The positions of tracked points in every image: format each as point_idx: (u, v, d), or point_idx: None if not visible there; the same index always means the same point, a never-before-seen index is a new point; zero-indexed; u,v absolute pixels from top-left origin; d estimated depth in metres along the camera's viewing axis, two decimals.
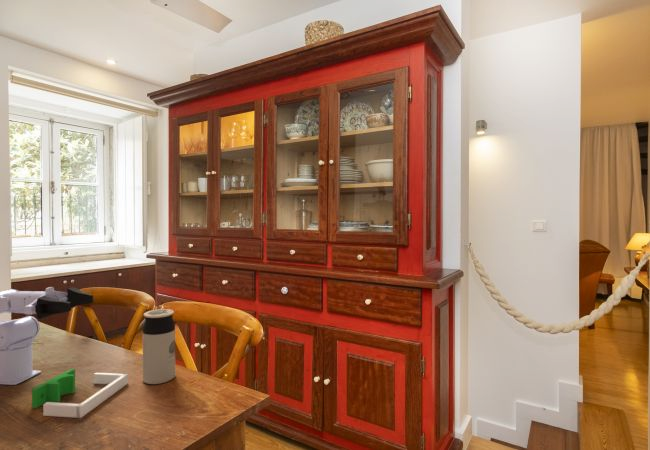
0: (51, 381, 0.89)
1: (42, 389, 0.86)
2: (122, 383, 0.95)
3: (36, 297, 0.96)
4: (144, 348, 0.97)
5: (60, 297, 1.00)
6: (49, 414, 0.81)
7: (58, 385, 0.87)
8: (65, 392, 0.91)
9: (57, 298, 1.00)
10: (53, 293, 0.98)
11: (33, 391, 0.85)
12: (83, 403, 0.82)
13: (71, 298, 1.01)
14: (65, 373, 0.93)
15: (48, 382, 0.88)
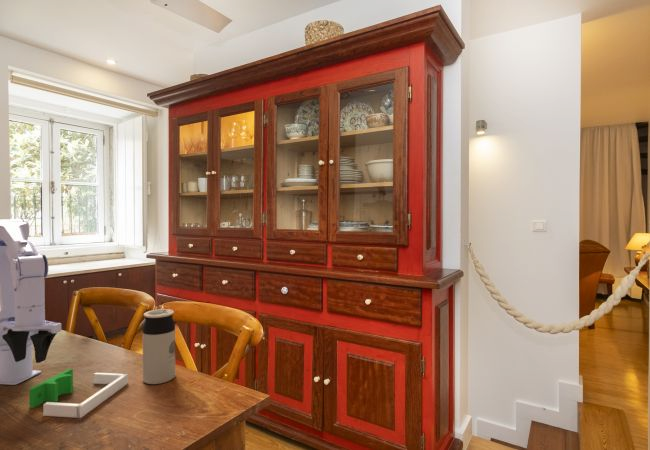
0: (48, 380, 0.89)
1: (40, 389, 0.86)
2: (122, 383, 0.95)
3: (15, 318, 0.88)
4: (144, 348, 0.97)
5: None
6: (49, 414, 0.81)
7: (56, 385, 0.87)
8: (63, 392, 0.91)
9: None
10: None
11: (30, 391, 0.85)
12: (83, 403, 0.82)
13: None
14: (63, 373, 0.93)
15: (46, 382, 0.88)
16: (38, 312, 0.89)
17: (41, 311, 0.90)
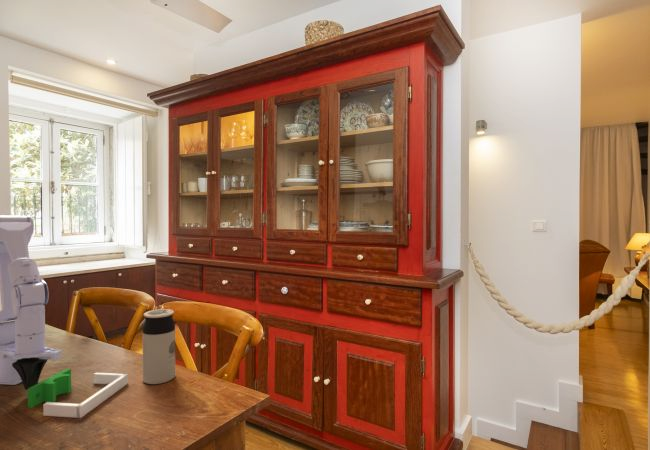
0: (46, 380, 0.89)
1: (38, 389, 0.86)
2: (122, 383, 0.95)
3: (15, 346, 0.89)
4: (144, 348, 0.97)
5: None
6: (49, 414, 0.81)
7: (54, 385, 0.88)
8: (61, 392, 0.91)
9: None
10: None
11: (28, 391, 0.85)
12: (83, 403, 0.82)
13: None
14: (61, 373, 0.93)
15: (44, 382, 0.88)
16: (38, 339, 0.89)
17: (41, 338, 0.90)
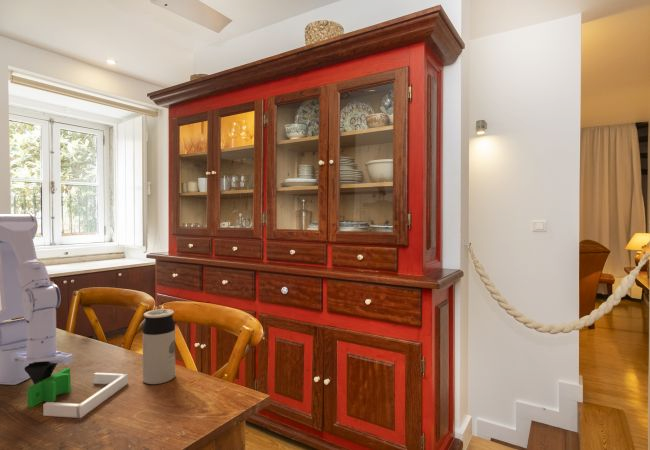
0: (46, 380, 0.89)
1: (38, 388, 0.86)
2: (122, 383, 0.95)
3: (26, 350, 0.88)
4: (144, 348, 0.97)
5: None
6: (49, 414, 0.81)
7: (54, 384, 0.88)
8: (60, 391, 0.91)
9: None
10: None
11: (28, 390, 0.85)
12: (83, 403, 0.82)
13: None
14: (60, 372, 0.93)
15: (43, 381, 0.88)
16: (50, 343, 0.89)
17: (53, 342, 0.90)
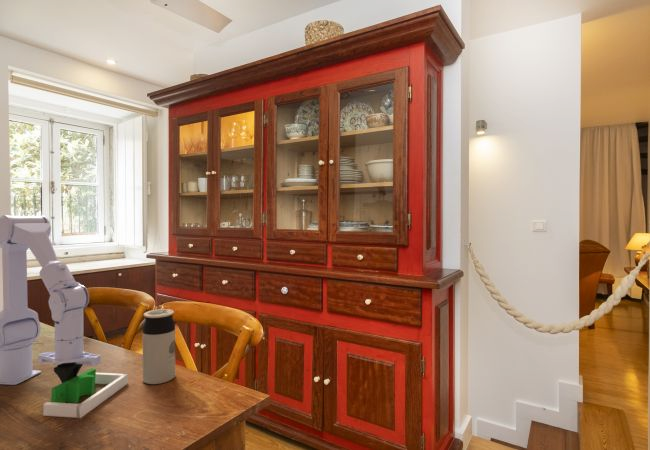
0: (71, 380, 0.88)
1: (62, 389, 0.86)
2: (122, 383, 0.95)
3: None
4: (144, 348, 0.97)
5: None
6: (49, 414, 0.81)
7: (77, 386, 0.87)
8: (84, 392, 0.91)
9: None
10: None
11: (52, 390, 0.84)
12: (83, 403, 0.82)
13: None
14: (86, 373, 0.92)
15: (68, 382, 0.88)
16: (78, 344, 0.89)
17: (80, 342, 0.89)
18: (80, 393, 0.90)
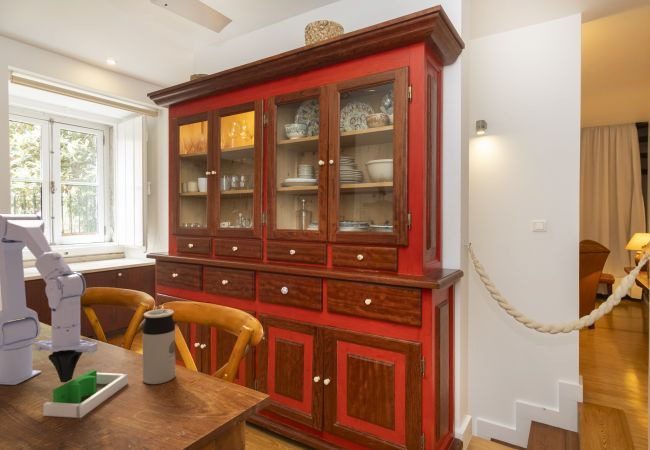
0: (72, 382, 0.88)
1: (63, 390, 0.86)
2: (122, 383, 0.95)
3: None
4: (144, 348, 0.97)
5: None
6: (49, 414, 0.81)
7: (79, 387, 0.87)
8: (86, 393, 0.91)
9: None
10: None
11: (54, 392, 0.84)
12: (83, 403, 0.82)
13: None
14: (87, 374, 0.92)
15: (69, 383, 0.87)
16: (75, 332, 0.89)
17: (77, 330, 0.89)
18: (82, 394, 0.90)
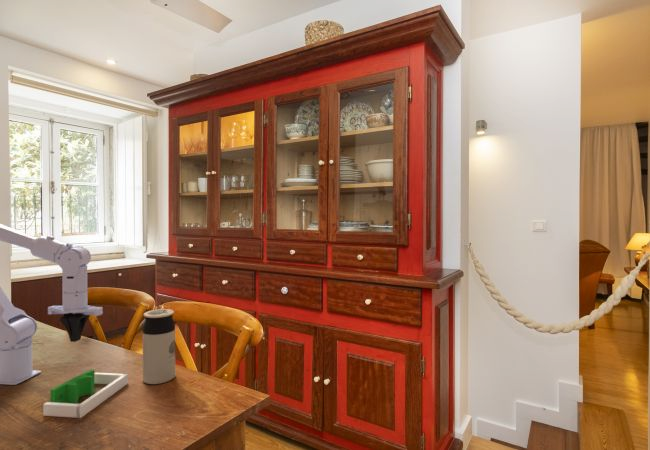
0: (70, 381, 0.88)
1: (61, 390, 0.86)
2: (122, 383, 0.95)
3: None
4: (144, 348, 0.97)
5: (81, 312, 1.01)
6: (49, 414, 0.81)
7: (76, 386, 0.87)
8: (84, 393, 0.91)
9: None
10: None
11: (51, 392, 0.84)
12: (83, 403, 0.82)
13: None
14: (84, 374, 0.93)
15: (67, 383, 0.88)
16: (83, 297, 1.01)
17: (85, 296, 1.02)
18: (79, 394, 0.90)
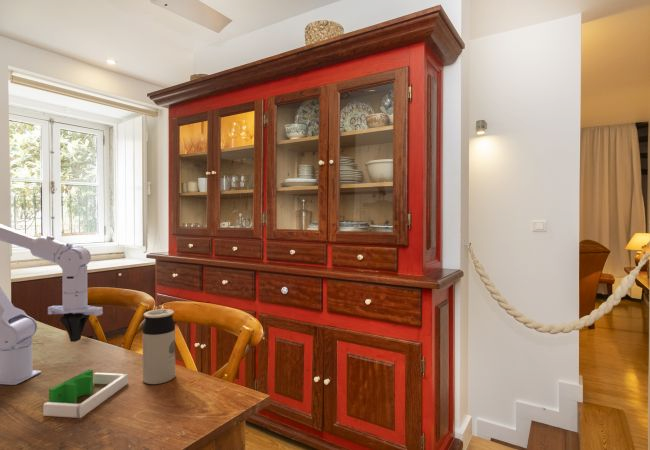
0: (68, 381, 0.88)
1: (59, 390, 0.86)
2: (122, 383, 0.95)
3: None
4: (144, 348, 0.97)
5: (81, 312, 1.01)
6: (49, 414, 0.81)
7: (75, 386, 0.87)
8: (82, 393, 0.91)
9: None
10: None
11: (50, 392, 0.84)
12: (83, 403, 0.82)
13: None
14: (83, 374, 0.93)
15: (65, 383, 0.88)
16: (83, 297, 1.01)
17: (85, 296, 1.02)
18: (78, 394, 0.90)
